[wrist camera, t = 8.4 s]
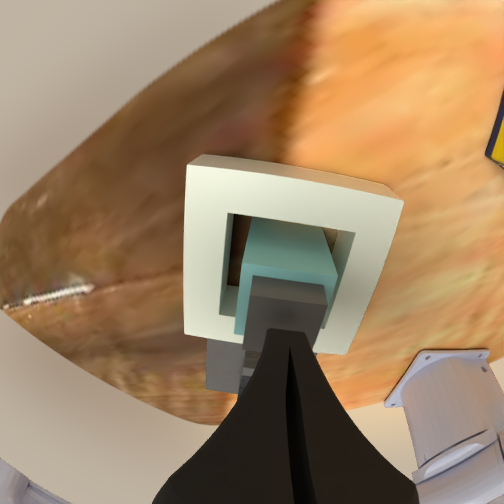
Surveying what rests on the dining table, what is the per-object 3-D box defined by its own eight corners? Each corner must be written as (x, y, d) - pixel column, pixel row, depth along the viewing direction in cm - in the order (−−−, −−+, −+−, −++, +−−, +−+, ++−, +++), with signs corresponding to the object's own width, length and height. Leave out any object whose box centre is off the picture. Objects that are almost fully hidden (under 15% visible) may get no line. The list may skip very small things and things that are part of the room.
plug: (322, 227, 16) (343, 296, 11) (307, 285, 18) (317, 365, 13) (252, 216, 17) (237, 281, 11) (244, 276, 18) (229, 355, 13)
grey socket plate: (322, 332, 20) (327, 371, 17) (296, 395, 24) (297, 429, 21) (209, 317, 20) (198, 354, 17) (207, 383, 24) (199, 416, 21)
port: (384, 184, 15) (404, 200, 12) (339, 323, 20) (345, 354, 17) (203, 154, 15) (187, 164, 12) (195, 303, 20) (184, 333, 17)
